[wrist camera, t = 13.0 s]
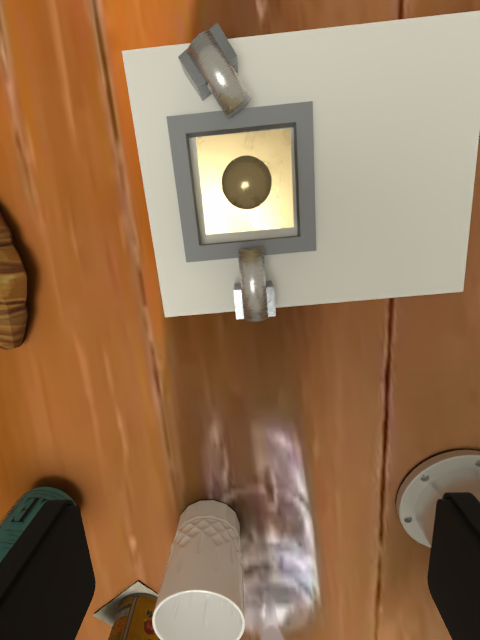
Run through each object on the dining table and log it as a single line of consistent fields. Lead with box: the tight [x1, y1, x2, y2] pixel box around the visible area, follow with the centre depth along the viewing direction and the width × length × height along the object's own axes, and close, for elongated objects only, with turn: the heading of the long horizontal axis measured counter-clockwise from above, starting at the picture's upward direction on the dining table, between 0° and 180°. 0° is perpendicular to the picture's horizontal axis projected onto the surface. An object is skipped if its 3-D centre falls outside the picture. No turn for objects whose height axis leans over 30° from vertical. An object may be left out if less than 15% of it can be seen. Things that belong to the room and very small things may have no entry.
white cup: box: [152, 500, 245, 640], centre depth 34 cm, size 8×8×10 cm
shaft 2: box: [233, 247, 276, 321], centre depth 28 cm, size 6×3×4 cm, turn 5°
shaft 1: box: [178, 23, 251, 118], centre depth 24 cm, size 5×3×4 cm
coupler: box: [196, 128, 294, 235], centre depth 25 cm, size 6×6×6 cm
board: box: [122, 11, 480, 317], centre depth 27 cm, size 26×20×2 cm
